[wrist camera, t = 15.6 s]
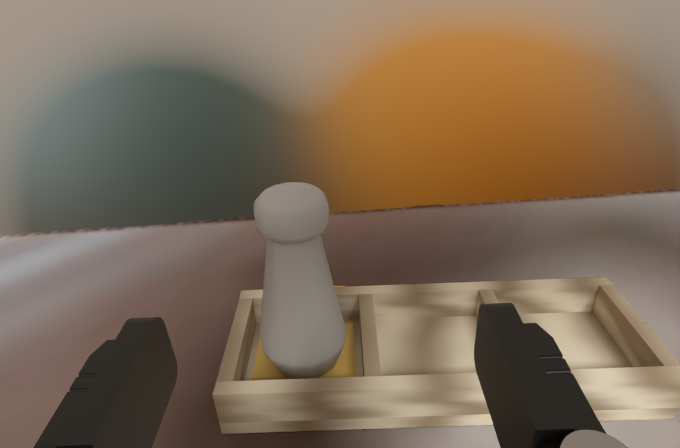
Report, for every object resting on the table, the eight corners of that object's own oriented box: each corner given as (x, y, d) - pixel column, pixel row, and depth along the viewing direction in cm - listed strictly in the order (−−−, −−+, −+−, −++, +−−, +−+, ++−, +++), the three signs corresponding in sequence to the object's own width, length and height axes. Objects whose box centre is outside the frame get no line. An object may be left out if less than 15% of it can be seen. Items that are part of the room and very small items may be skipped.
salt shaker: (247, 375, 32) (215, 204, 26) (290, 322, 36) (272, 165, 30) (324, 403, 30) (310, 224, 23) (360, 343, 34) (356, 179, 28)
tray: (593, 309, 38) (603, 273, 37) (673, 418, 29) (692, 378, 28) (248, 321, 39) (242, 287, 37) (221, 433, 30) (212, 395, 28)
